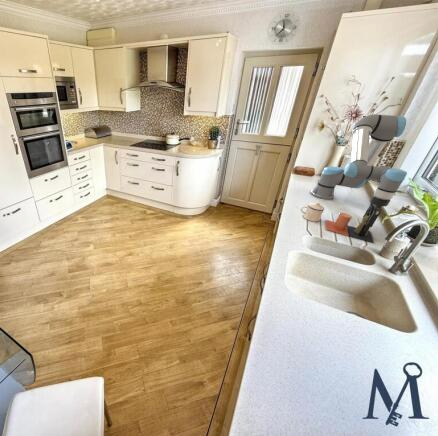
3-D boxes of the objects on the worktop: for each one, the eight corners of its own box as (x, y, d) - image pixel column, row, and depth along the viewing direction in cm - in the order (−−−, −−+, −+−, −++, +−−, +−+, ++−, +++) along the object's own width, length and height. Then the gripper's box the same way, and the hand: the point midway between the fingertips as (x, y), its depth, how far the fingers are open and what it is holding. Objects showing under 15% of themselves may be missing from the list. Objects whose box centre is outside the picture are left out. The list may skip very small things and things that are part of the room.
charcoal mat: (347, 226, 147) (347, 225, 147) (369, 232, 142) (369, 231, 142) (349, 236, 137) (349, 235, 137) (373, 243, 132) (373, 242, 132)
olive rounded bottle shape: (369, 236, 136) (379, 220, 130) (357, 234, 137) (367, 218, 131) (363, 230, 141) (372, 215, 135) (352, 229, 142) (361, 213, 136)
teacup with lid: (318, 217, 156) (326, 202, 150) (319, 223, 149) (327, 207, 143) (298, 212, 161) (304, 197, 155) (297, 218, 154) (304, 202, 148)
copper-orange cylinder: (332, 224, 148) (339, 211, 143) (344, 227, 145) (351, 214, 140) (333, 228, 143) (339, 215, 139) (345, 231, 140) (352, 218, 136)
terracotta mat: (325, 220, 152) (326, 219, 152) (346, 226, 147) (346, 225, 147) (326, 230, 142) (326, 229, 142) (348, 236, 137) (348, 235, 137)
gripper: (394, 205, 118) (371, 242, 130) (387, 193, 132) (366, 227, 144) (376, 201, 122) (354, 237, 134) (370, 190, 136) (351, 223, 147)
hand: (360, 232), depth 139 cm, fingers closed on olive rounded bottle shape, 6 cm apart
